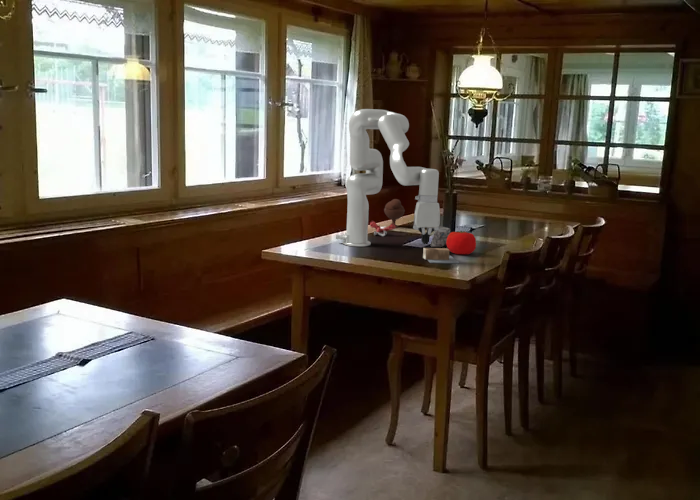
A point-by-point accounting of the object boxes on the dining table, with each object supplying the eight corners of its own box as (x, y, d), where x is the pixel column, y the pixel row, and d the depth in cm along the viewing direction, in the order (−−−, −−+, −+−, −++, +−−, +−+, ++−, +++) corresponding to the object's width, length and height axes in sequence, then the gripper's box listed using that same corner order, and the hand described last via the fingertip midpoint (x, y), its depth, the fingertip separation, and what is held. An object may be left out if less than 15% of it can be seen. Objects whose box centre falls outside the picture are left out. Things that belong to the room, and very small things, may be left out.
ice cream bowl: (407, 227, 384) (409, 198, 381) (397, 230, 375) (398, 200, 372) (389, 225, 389) (391, 196, 386) (379, 227, 380) (380, 198, 377)
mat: (430, 263, 297) (430, 262, 297) (422, 255, 311) (422, 255, 311) (459, 263, 299) (459, 262, 299) (450, 256, 312) (450, 255, 312)
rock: (437, 248, 326) (441, 226, 326) (421, 245, 331) (425, 223, 330) (453, 250, 340) (456, 228, 339) (437, 247, 344) (440, 225, 343)
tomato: (475, 257, 313) (476, 233, 311) (445, 255, 315) (446, 231, 313) (475, 252, 323) (477, 229, 321) (446, 250, 325) (447, 227, 323)
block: (425, 249, 301) (449, 250, 302) (423, 247, 305) (447, 248, 306) (425, 259, 302) (448, 259, 303) (422, 257, 306) (446, 257, 307)
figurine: (360, 234, 356) (361, 221, 355) (372, 231, 366) (373, 218, 365) (388, 238, 348) (388, 224, 347) (399, 235, 358) (400, 222, 357)
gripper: (411, 200, 294) (409, 245, 298) (448, 201, 296) (445, 245, 300) (407, 197, 302) (405, 241, 305) (443, 198, 304) (440, 242, 307)
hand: (425, 243), depth 303 cm, fingers closed
